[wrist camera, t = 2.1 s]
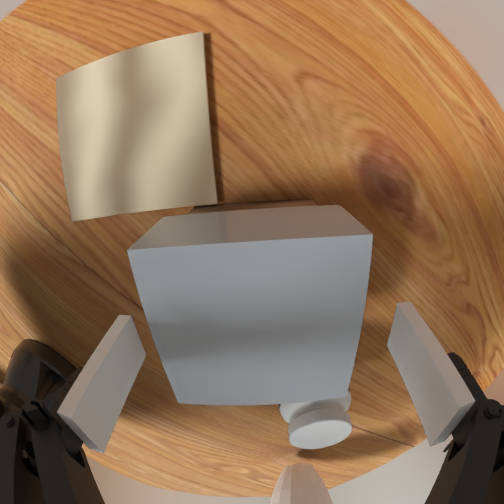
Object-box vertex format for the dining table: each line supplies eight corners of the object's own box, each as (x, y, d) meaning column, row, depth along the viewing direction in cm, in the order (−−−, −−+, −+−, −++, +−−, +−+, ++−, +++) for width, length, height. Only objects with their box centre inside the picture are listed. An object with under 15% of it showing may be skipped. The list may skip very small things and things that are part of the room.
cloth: (75, 219, 21) (72, 221, 20) (60, 78, 16) (56, 78, 15) (218, 201, 20) (217, 203, 20) (204, 34, 15) (202, 31, 15)
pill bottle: (282, 323, 24) (291, 416, 15) (342, 328, 24) (372, 413, 15) (271, 367, 26) (274, 452, 17) (325, 370, 27) (342, 450, 17)
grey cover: (192, 350, 19) (178, 403, 15) (163, 216, 15) (126, 250, 11) (330, 344, 19) (346, 396, 14) (339, 204, 15) (373, 234, 10)
